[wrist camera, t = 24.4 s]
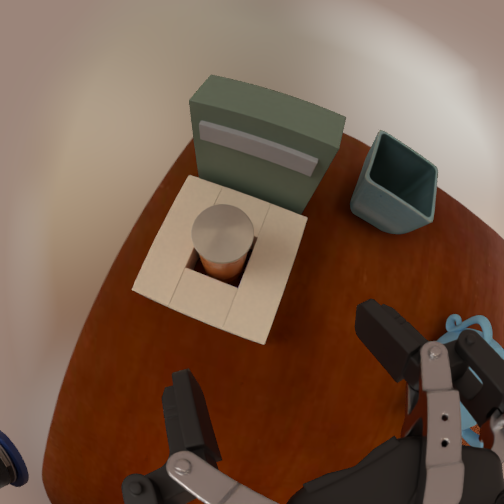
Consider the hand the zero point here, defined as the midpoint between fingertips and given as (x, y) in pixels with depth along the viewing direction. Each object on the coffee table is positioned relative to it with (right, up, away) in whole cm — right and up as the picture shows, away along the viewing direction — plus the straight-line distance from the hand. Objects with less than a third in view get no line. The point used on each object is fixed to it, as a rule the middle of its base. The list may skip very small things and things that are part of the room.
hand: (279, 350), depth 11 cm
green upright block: (-1, +11, +21) cm, 24 cm away
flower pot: (+14, +10, +22) cm, 28 cm away
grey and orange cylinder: (-4, +3, +18) cm, 19 cm away
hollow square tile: (-4, +3, +18) cm, 19 cm away
